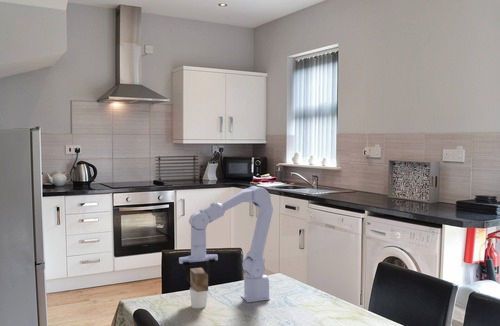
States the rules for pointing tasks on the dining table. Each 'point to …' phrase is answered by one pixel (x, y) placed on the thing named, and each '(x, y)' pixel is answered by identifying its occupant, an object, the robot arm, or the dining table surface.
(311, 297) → the dining table surface
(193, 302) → the white cylinder
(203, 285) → the walnut block
